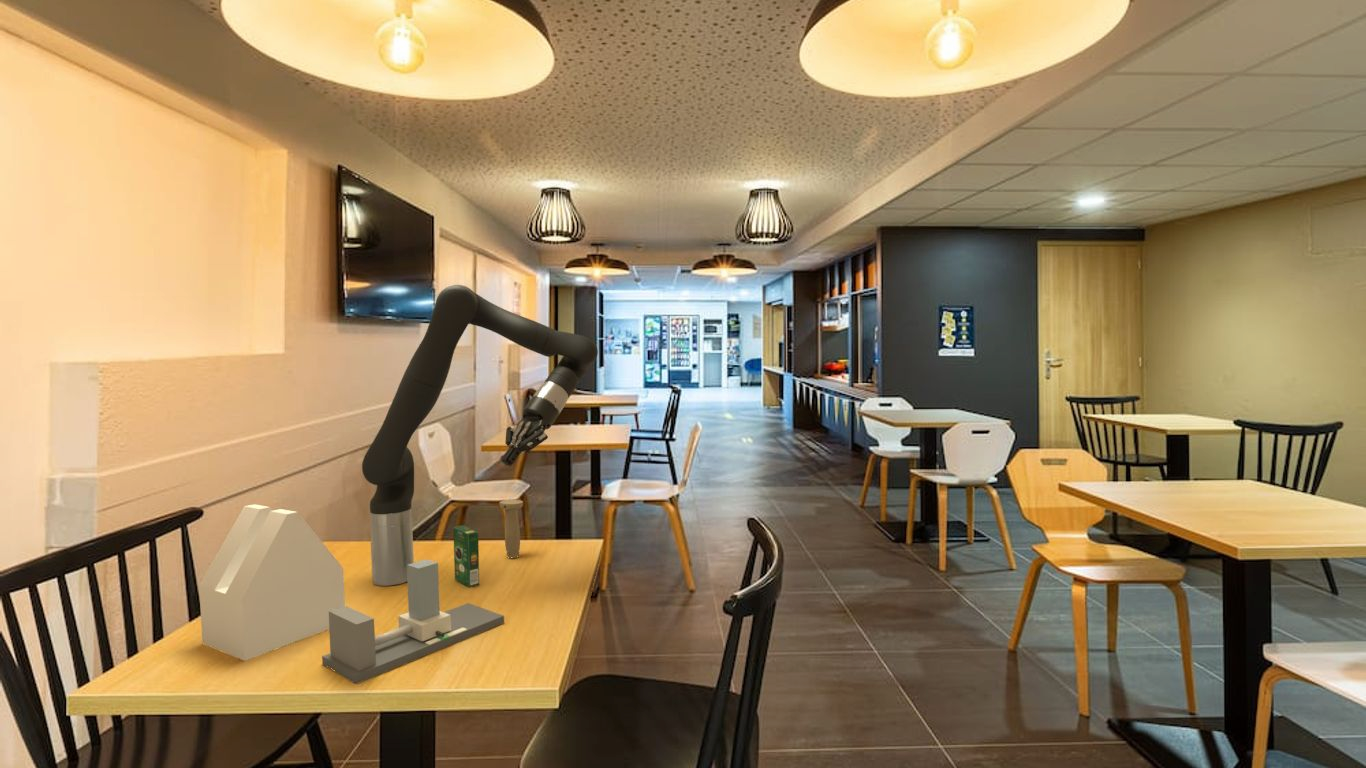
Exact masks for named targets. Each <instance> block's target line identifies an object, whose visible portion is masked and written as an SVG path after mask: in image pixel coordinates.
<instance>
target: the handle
mask: <svg viewBox="0 0 1366 768" xmlns="http://www.w3.org/2000/svg"><path fill="white" fill-rule="evenodd" d="M523 506H524V501H523V500H519V499H505V500H504V499H503V500H502V501H499V507H500V509H502V510H504V514H505V515H504V519H505V520H504V543H505V551H506V557H507V556H508V557H509V558H511V557H514V558H513V559H516V558H515V557H517V556H519V557H520V547H521V534H520V533H521V532H520V531H521V530H520V523H519V510H520V509H521V508H523ZM508 557H507V558H508ZM509 558H508V559H509ZM517 558H518V557H517ZM511 559H512V558H511Z"/></svg>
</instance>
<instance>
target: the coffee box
mask: <svg viewBox="0 0 1366 768" xmlns="http://www.w3.org/2000/svg"><path fill="white" fill-rule="evenodd" d="M452 530H453V556H454V559H453V561H454V563H453V565H454V580H456V581H457V582H458V583H460V584H463V585H464V586H466V587H468V588H473V587H476V586H480V561H479V560H480V559H479V558H480V555H479V553H480V552H479V547H480V546H479V531H477V530H475V529H472V528H471V527H468V526H466V525H458V526H454V527H453V528H452Z"/></svg>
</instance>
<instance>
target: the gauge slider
mask: <svg viewBox="0 0 1366 768" xmlns="http://www.w3.org/2000/svg"><path fill="white" fill-rule="evenodd" d="M407 581H408V582H407V598H408V599H407V601H408V604H407V605H408V612H405V613H403V614H399V615H398V617H397V618H398V628H394V629H391V630H389V631H387V632H384V633H381V634H379V635H378V634H377V635H375V646H377V645H380V644H382V643H385V642H388V641H390V640H393V639H396V638H398V637H401V636H404V635H409V636H411V637H413V638H415V639H418V640H420V641H422V642H423V641H425V640H428V639H430V638H433V637H435V636H440V637H444V633H446V632H448V631H451V615H449V614H447V613H444V612H445V611H441V609H440V608H441V607H440V586H439V584H440V583H439V582H440V581H439V562H436V561H433V560H431V559H421V560H418V561H416V562H415V561H414V563H411V564H408V565H407Z"/></svg>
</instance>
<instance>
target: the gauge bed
mask: <svg viewBox="0 0 1366 768" xmlns="http://www.w3.org/2000/svg"><path fill="white" fill-rule="evenodd" d="M443 612H444V613H447V614H449V615H451V631H448V632H446V633H444V637H440V636H435V637H433V638H430V639H428V640H425V641H423V642H422V641H420V640H418V639H415V638H413V637H411V636H409V635H404V636H401V637H398V638H396V639H393V640H390V641H388V642H385V643H382V644H380V645H377V646H375V636H376V635H375V634H376V633H375V632H376V631H375V618H374V617H372V616H369V615H367V614H365V613H363V612H360V611H359V610H356V609H354V608H351V607H349V606H347V605H345V606H344V607H341V608H337V609H334V610H331V611H329V629H328V630H329V649H330V652H329V653H327V654H324V655H322V656H321V657H322V658H321V659H322V660H321V662H322V665H323V664H324V665H326V666H328V667H330V668H332V669H333V670H335V671H336V672H337V673H336V672H335V671H334V672H335V673H336V674H338V673H339V674H338V675H340V676H341V675H342V677H343V676H344V677H343V678H345V679H346V680H348V679H349V680H348V681H350V682H352V683H353V682H354V684H355V685H357V684H360V683H362V682H364V681H367V680H369V679H371V678H375V677H377V676H379V675H382V674H384V673H386V672H388V671H391V670H394V669H396V668H398V667H400V666H403V665H405V664H408V663H410V662H413V661H415V660H418V659H419V658H422V657H425V656H428V655H430V654H432V653H434V652H437V651H439V650H442V649H444V648H446V647H449V646H452V645H455V644H457V643H459V642H462V641H464V640H466V639H469V638H471V637H475V636H476V635H478V634H481V633H483V632H485V631H488V630H490V629H493V628H496V627H497V626H500V625H502V624H505V616H504V614H501V613H497V612H494V611H492V610H489V609H486V608H484V607H480V606H478V605H474V604H472V603H470V602H468V603H466V604H465V603H464V604H463V605H460V606H456V607H453V608H451V609H449V610H446V611H443ZM324 665H323V666H324ZM326 666H325V667H326ZM328 667H327V668H328ZM333 670H332V671H333Z"/></svg>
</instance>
